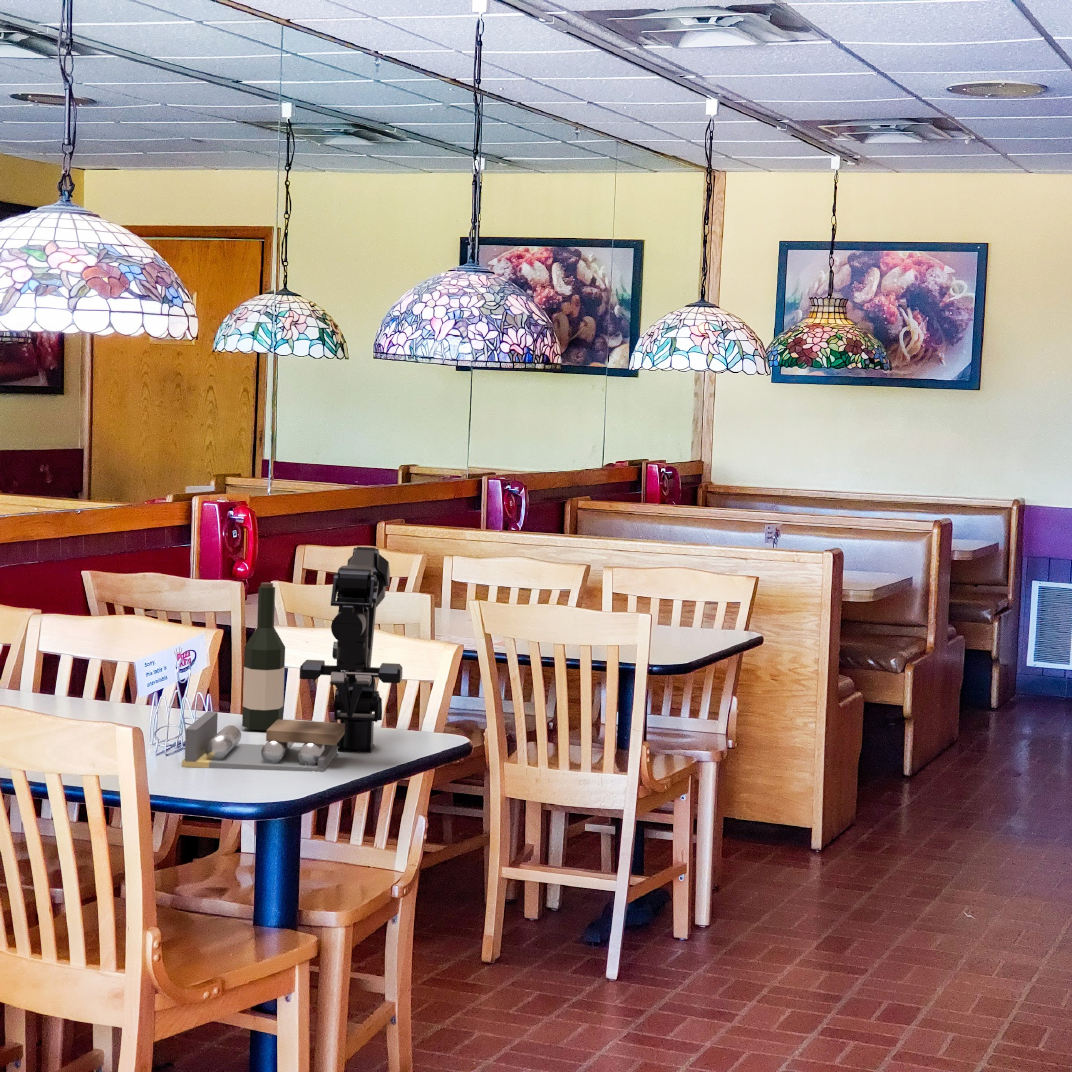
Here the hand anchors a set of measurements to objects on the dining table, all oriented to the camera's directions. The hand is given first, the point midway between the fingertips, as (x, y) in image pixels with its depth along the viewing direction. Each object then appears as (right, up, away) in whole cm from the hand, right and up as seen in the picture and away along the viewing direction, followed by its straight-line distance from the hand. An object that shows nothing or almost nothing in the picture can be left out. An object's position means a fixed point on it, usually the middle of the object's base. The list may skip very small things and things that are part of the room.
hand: (350, 716), depth 277 cm
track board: (-17, -8, +1) cm, 19 cm away
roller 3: (-8, -7, +1) cm, 11 cm away
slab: (-8, -4, 0) cm, 9 cm away
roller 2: (-15, -7, +1) cm, 16 cm away
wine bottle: (-22, -6, +30) cm, 38 cm away
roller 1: (-23, -7, +1) cm, 24 cm away
